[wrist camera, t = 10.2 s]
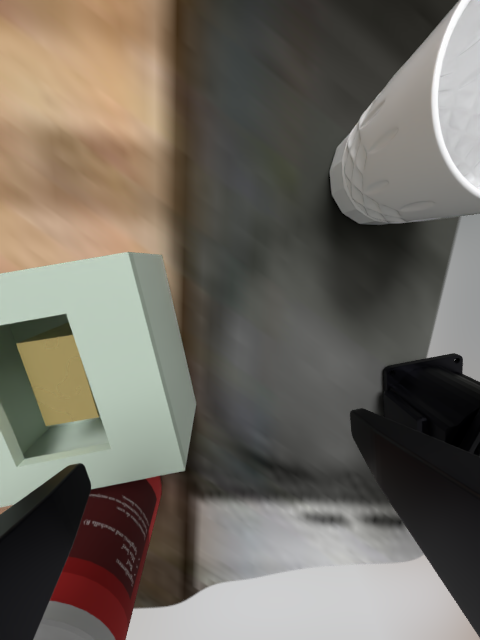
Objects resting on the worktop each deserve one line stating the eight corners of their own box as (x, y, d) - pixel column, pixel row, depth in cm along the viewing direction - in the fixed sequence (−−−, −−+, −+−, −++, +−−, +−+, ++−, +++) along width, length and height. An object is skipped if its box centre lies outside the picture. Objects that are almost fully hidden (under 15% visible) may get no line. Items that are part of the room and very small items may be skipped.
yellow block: (111, 315, 19) (73, 334, 14) (128, 378, 20) (98, 417, 15) (69, 321, 19) (15, 343, 14) (88, 385, 20) (45, 426, 15)
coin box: (161, 254, 19) (128, 252, 12) (196, 403, 21) (185, 470, 15) (-9, 284, 18) (-146, 298, 11) (48, 431, 21) (-34, 513, 14)
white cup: (446, 189, 19) (680, 117, 9) (355, 255, 20) (487, 251, 10) (396, 84, 17) (620, -141, 8) (298, 160, 18) (391, 42, 8)
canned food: (75, 519, 23) (-50, 742, 12) (69, 441, 21) (-82, 622, 11) (163, 519, 24) (117, 730, 13) (164, 442, 22) (112, 615, 11)
